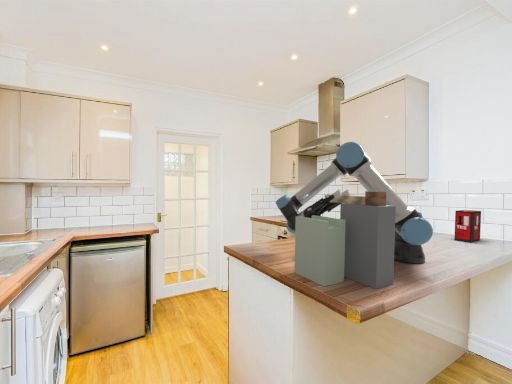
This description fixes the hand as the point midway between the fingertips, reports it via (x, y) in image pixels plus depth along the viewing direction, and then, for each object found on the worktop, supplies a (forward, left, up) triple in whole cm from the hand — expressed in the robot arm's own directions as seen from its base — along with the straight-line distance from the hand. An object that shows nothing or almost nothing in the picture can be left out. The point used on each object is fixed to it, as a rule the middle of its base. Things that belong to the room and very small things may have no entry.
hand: (344, 192), depth 104 cm
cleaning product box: (-72, -105, -32) cm, 131 cm away
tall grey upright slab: (-8, +6, -32) cm, 34 cm away
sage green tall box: (+8, +11, -32) cm, 35 cm away
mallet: (-3, +2, -4) cm, 6 cm away
